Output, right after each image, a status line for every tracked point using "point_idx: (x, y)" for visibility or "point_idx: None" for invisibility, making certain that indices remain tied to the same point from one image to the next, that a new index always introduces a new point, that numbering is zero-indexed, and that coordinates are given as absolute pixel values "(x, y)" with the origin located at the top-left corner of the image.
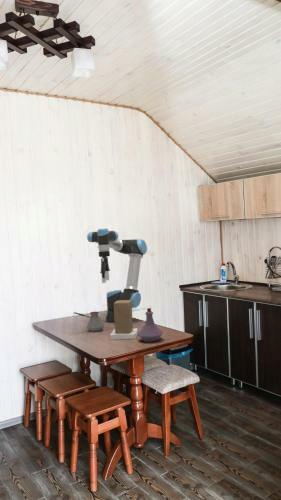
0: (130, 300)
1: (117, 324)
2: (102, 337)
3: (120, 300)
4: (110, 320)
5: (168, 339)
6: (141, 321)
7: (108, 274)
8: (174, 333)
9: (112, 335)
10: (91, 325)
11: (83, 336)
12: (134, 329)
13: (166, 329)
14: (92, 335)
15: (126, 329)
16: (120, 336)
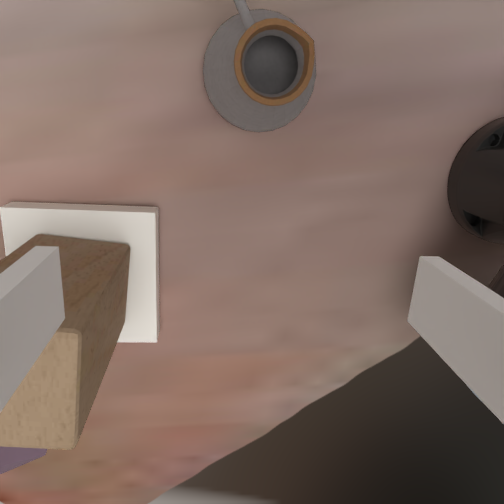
0: (52, 446)
1: None
2: (67, 146)
3: (64, 365)
4: (464, 155)
5: None
6: None
7: (469, 380)
8: (128, 482)
9: (3, 219)
10: (213, 49)
11: (100, 8)
12: (132, 329)
13: (212, 449)
14: (123, 71)
15: None
16: None
